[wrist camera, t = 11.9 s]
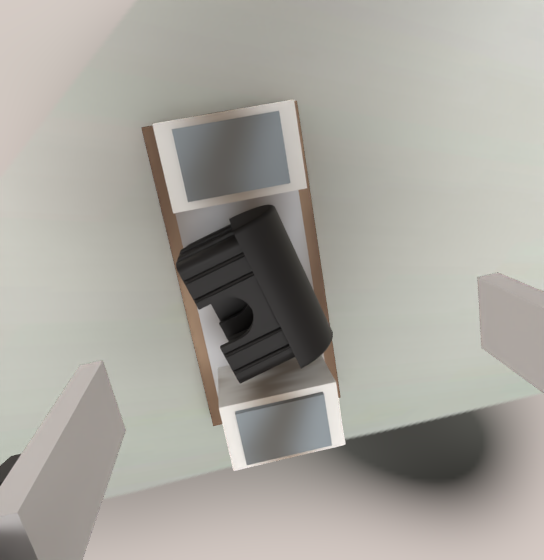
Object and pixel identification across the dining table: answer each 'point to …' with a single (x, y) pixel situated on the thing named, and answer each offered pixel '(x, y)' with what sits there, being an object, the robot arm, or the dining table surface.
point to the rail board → (215, 215)
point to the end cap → (256, 293)
